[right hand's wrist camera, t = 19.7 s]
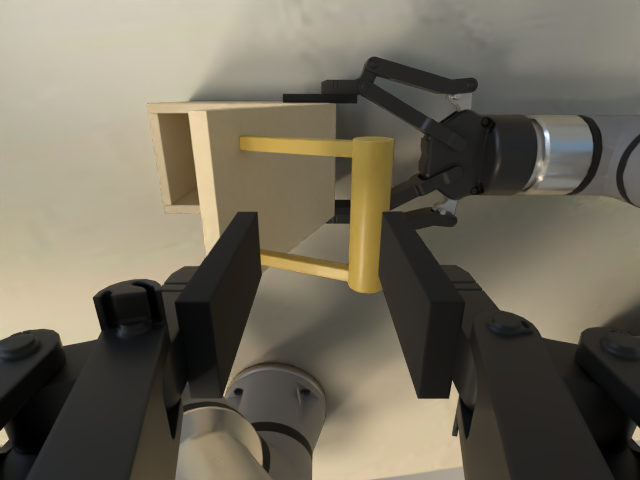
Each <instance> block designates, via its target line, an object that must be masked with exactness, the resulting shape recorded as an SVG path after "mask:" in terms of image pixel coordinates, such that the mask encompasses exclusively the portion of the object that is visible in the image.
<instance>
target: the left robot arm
mask: <svg viewBox="0 0 640 480" xmlns="http://www.w3.org/2000/svg"><path fill="white" fill-rule="evenodd" d="M376 76H378V77H382V78H385V79H388V80H392V81H395V82H399V83H402V84H405V85H409V86H412V87H415V88H419V89H422V90H426V91H429V92H432V93H436V94H446V100H447V102H449V103H452V104H455V106H456V107H457V111H455V112H454V113H452V114H451V115H449V116H448V117H447V118H445V119H444V120H442V121H441V122H439V123H438V122H436V121H435V120H433V119H431V118H429V117H427V116H425V115H424V114H422V113H420V112H419V111H417V110H416V109H414V108H412V107H411V106H409V105H407V104H406V103H404V102H403V101H401V100H399V99H398V98H396V97H394V96H393V95H391V94H389V93H388V92H386V91H385V90H383V89H381V88H380V87H378V86H376V85H375V84H373V83H374V80H375V78H376ZM477 86H478V83H477V80H476V79H474V78H464V79H454V80H451V79H448V78H444V77H441V76H438V75H434V74H431V73H428V72H424V71H421V70H418V69H414V68H411V67H408V66H404V65H401V64H398V63H394V62H391V61H388V60H384V59H381V58H378V57H371V58H370V59H368V60H367V61H366V62H365V64H364V67H363V70H362V73H361V75H360V77H359V78H358V79H356V80H326V81H324V82H321V94H283V103H357V95H361V96H363V97H365V98H366V99H368V100H370V101H371V102H373V103H375V104H376V105H378V106H380V107H381V108H383V109H385V110H386V111H388V112H390V113H391V114H393V115H395V116H396V117H398V118H400V119H401V120H403V121H405V122H406V123H408V124H410V125H411V126H413V127H414V128H416V129H418V130H419V131H421V132H423V133H424V134H425V135H424V137H423V138H421V152H422V155H421V158H420V161H419V167H418V170H419V171H420V173H418V174H416V175H414V176H412V177H411V178H410V179H409V180H407V181H405V182H403V183H402V184H400V185H398V186H396V187H394V188H392V189H391V196H390V209H389V211H390V210H392V209H394V208H396V207H398V206H400V205H402V204H404V203H406V202H408V201H410V200H412V199H414V198H416V197H418V196H423V195H426V194H428V193H430V192H432V191H434V190H436V189H437V190H438V191H439V192H441V193H442V194H443V195H444V196H445V199H444V200H443V201H441V202H437V203H435V204H434V205H433V207H428V208H421V209H417V210H413V211H409V212H405V213H403V214H404V215H405V217H406V218H407V219H408V221H409V222H410V224H411V225H412V226H413V228H414V229H415V230H417V229H421V228H425V227H429V226H433V225H434V226H446V227H453V226H455V225H456V223H457V218H456V217H455V216H454V214H455V210H456V205H457V201H458V200H459V199H462V198H463V197H466V196H469V195H514V194H516V193H517V194H519V195H597V196H608V197H612V198H615V199H618V200H621V201H624V202H627V203H630V204H631V205H633V206H636V207H639V208H640V115H601V116H582V115H529V116H527V117H525V116H524V115H480V114H477V113H475V112H474V111H472V110H471V104H472V92H474V91H475V90H476V88H477ZM350 211H351V200H335V214H334V216H333V217H332V218H331V219H330V220H328V221H327V222H326V223H341V224H350ZM181 399H182V404H183V411H184V413H183V421H182V429H181V437H180V445H179V453H178V461H177V469H176V477H175V480H312V453H313V450H314V448H315V445H316V443H317V440H318V437H319V435H320V432H321V430H322V427H323V424H324V421H325V416H326V399H325V395H324V392H323V390H322V388H321V386H320V385H319V383H318V382H317V381H316V380H315V379H314V378H313V377H312V376H311V375H309V374H308V373H306V372H305V371H303V370H301V369H299V368H296V367H294V366H290V365H286V364H279V363H267V364H260V365H256V366H253V367H250V368H248V369H246V370H244V371H242V372H241V373H239V374H238V375H237V376H236V377H235V378H234V379H233V380H232V381H231V383H230V384H229V386H228V388H227V391H226V394H225V397H224V396H223V397H222V399H191V396H190V390H189V384H188V382H187V384H186V386H185V389H184V391H183V393H182V395H181Z"/></svg>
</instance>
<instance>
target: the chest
mask: <svg viewBox="0 0 640 480" xmlns="http://www.w3.org/2000/svg"><path fill="white" fill-rule="evenodd" d="M303 104H324V103H283V101H185V102H163V103H147V109H148V113H149V120H150V126H151V133H152V139H153V145H154V151H155V157H156V163H157V169H158V175H159V181H160V187H161V193H162V200H163V205H164V212H165V213H201V210H200V203H199V195H198V187H197V179H196V171H195V163H194V155H193V147H192V139H191V131H190V123H189V115H188V110H201V109H221V108H242V107H262V106H283V105H303Z"/></svg>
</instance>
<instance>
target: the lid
mask: <svg viewBox="0 0 640 480" xmlns="http://www.w3.org/2000/svg"><path fill="white" fill-rule="evenodd" d="M188 115H189V123H190V131H191V139H192V147H193V155H194V163H195V171H196V179H197V187H198V195H199V203H200V210H201V218H202V226H203V234H204V242H205V250H206V256H207V255H208V254H209V252H210V251H211V249H212V248H213V246H214V245H215V244H216V242H217V241H218V239H219V238H220V236H221V235H222V234H223V232H224V231H225V229H226V228H227V226H228V225H229V224H230V222H231V221H232V219H233V218H234V217H235V215H236V214H237V212H258V224H259V239H260V255H261V270H262V273H263V272H264V271H265V270H266V269H268V268H269V267H275V268H280V269H286V270H291V271H296V272H301V273H306V274H311V275H316V276H321V277H326V278H331V279H336V280H341V281H346V282H348V285H349V287H350V288H351V289H352V290H354V291H356V292H360V293H376V292H379V291H380V290H382V285H381V282H380V279H379V276H378V270H379V254H380V239H381V224H382V212H389V209H390V196H391V182H392V169H393V155H394V142H395V141H394V139H393V138H389V137H377V136H366V137H356V138H354V139H353V140H340V139H336V104H332V103H324V104H303V105H283V106H262V107H242V108H221V109H201V110H188ZM335 157H349V158H352V180H351V211H350V241H349V265H348V264H342V263H337V262H331V261H326V260H320V259H314V258H309V257H303V256H298V255H292V254H287V253H288V252H289V251H291V250H292V249H293V248H294V247H296V246H297V245H298V244H299V243H301V242H302V241H303V240H304V239H306V238H307V237H308V236H309V235H311V234H312V233H313V232H315V231H316V230H317V229H318V228H320V227H321V226H322V225H323V224H325V223H326V222H327V221H328V220H330V219H331V218H332V217H333V216H334V214H335Z"/></svg>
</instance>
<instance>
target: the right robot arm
mask: <svg viewBox="0 0 640 480" xmlns="http://www.w3.org/2000/svg"><path fill="white" fill-rule="evenodd" d="M261 276H262V270H261V255H260V239H259V224H258V212H237V214H236V215H235V217H234V218H233V219H232V221H231V222H230V224H229V225H228V226H227V228H226V229H225V231H224V232H223V234H222V235H221V236H220V238H219V239H218V241H217V242H216V244H215V245H214V246H213V248H212V249H211V251H210V252H209V254H208V255H207V256H206V258H205V259H204V261H203V262H202V264H201V265H200V266H184V267H183V268H181V269H179V270H178V271H176V272H174V273H172V274H171V275H170V277H169V278H168V279H167V280H166V281H165V283H164V285H162V286H161V285H160V284H159V283H157V282H156V281H153V280H148V279H134V280H129V281H123V282H119V283H117V284H114V285H111V286H108V287H106V288H105V289H103V290H101V291H99V292H98V293H97V294H96V295H95V296H94V297H93V300H94V304H95V308H96V312H97V315H98V319H99V323H100V327H101V330H102V331H101V333H100V335H99V337H98V339H97V340H93V341H88V342H83V343H77V344H72V345H67V346H62V342H61V339H60V336H59V334H58V333H56V332H55V331H54V330H48V329H38V330H27V331H23V332H22V333H21V332H19V333H16V334H13V335H11V336H10V337H8V338H5V339H3V340H0V431H1V430H2V429H3V427H4V429H5V431H6V433H7V435H8V438H9V440H8V441H7V442H6V444H5V445H4V446H3V447H2V448H0V480H175V477H176V469H177V461H178V453H179V445H180V437H181V429H182V421H183V413H184V411H183V404H182V399H181V395H182V393H183V391H184V389H185V386H186V384H187V382H188V384H189V390H190V396H191V399H222V397H223V394H224V391H225V388H226V385H227V382H228V378H229V375H230V372H231V369H232V366H233V363H234V360H235V357H236V354H237V350H238V347H239V344H240V341H241V338H242V335H243V332H244V329H245V326H246V323H247V319H248V316H249V313H250V310H251V307H252V304H253V301H254V298H255V295H256V292H257V288H258V285H259V282H260V279H261ZM378 276H379V279H380V282H381V285H382V289H383V292H384V295H385V298H386V301H387V304H388V307H389V310H390V313H391V316H392V320H393V323H394V326H395V329H396V332H397V335H398V338H399V341H400V344H401V347H402V351H403V354H404V357H405V360H406V363H407V366H408V369H409V372H410V375H411V378H412V382H413V385H414V388H415V391H416V394H417V397H418V399H449V396H450V390H451V384H452V380H453V382H454V384H455V387H456V389H457V391H458V393H459V399H458V404H457V410H456V415H455V421H454V426H453V432H452V436H457V434H458V429H459V436H460V444H461V452H462V460H463V468H464V476H465V480H640V446H638V445H637V444H636V442H635V441H634V440H633V439H632V435H633V433H634V431H635V429H636V426H638V427H639V428H640V338H637V337H635V336H632V335H630V334H629V333H627V332H624V331H621V330H619V331H618V330H617V329H612V328H600V327H595V328H588V329H586V330H585V331H583V332H582V333H581V336H580V339H579V342H578V345H577V344H572V343H566V342H561V341H556V340H550V339H546V338H542V337H541V335H540V333H539V331H538V330H537V328H536V327H535V326H534V325H533V324H532V323H531V322H529V321H528V320H526V319H524V318H523V317H520V316H518V315H515V314H513V313H510V312H505V311H500V310H499V309H498V307H497V306H496V305H495V304H494V303H493V301H492V300H491V299H490V298H489V297H488V295H487V294H486V293H485V292H484V291H482V288H481V287H480V286H479V285H478V283H476V281H475V280H474V279H473V277H472V276H471V275H470V274H469V273H468V272H467V271H465V270H463V269H461V268H460V267H458V266H456V265H439V264H438V262H437V261H436V259H435V258H434V256H433V255H432V254H431V252H430V251H429V249H428V248H427V246H426V245H425V244H424V242H423V241H422V239H421V238H420V236H419V235H418V234H417V232H416V231H415V229H414V228H413V226H412V225H411V224H410V222H409V221H408V219H407V218H406V217H405V215H404V214H403V212H382V224H381V239H380V254H379V270H378Z"/></svg>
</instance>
